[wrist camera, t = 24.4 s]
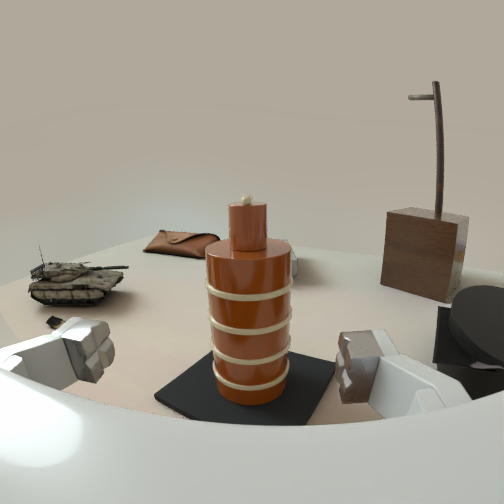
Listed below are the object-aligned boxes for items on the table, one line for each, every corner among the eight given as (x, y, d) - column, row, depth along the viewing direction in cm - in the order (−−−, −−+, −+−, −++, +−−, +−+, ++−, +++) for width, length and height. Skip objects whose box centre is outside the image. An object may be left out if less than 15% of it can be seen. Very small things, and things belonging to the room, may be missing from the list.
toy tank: (125, 305, 39) (114, 235, 36) (30, 305, 37) (16, 244, 35) (139, 285, 46) (131, 224, 44) (52, 288, 45) (41, 233, 42)
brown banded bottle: (288, 408, 21) (297, 199, 17) (208, 404, 21) (188, 200, 17) (287, 362, 27) (292, 191, 23) (221, 359, 27) (211, 192, 23)
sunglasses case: (139, 250, 68) (146, 223, 69) (156, 258, 74) (162, 233, 75) (203, 257, 61) (210, 227, 63) (218, 265, 67) (224, 237, 69)
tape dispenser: (522, 345, 24) (537, 291, 23) (550, 434, 10) (589, 357, 9) (431, 333, 33) (441, 278, 31) (413, 421, 18) (438, 341, 17)
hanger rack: (445, 303, 37) (452, 60, 28) (380, 284, 46) (382, 64, 37) (459, 281, 45) (466, 84, 35) (405, 267, 54) (409, 85, 44)
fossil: (45, 326, 32) (43, 321, 32) (53, 319, 34) (51, 314, 34) (83, 337, 31) (81, 332, 30) (91, 328, 32) (89, 323, 32)
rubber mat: (337, 367, 26) (338, 362, 26) (283, 459, 16) (284, 455, 16) (231, 339, 32) (231, 334, 32) (154, 399, 22) (153, 394, 22)
